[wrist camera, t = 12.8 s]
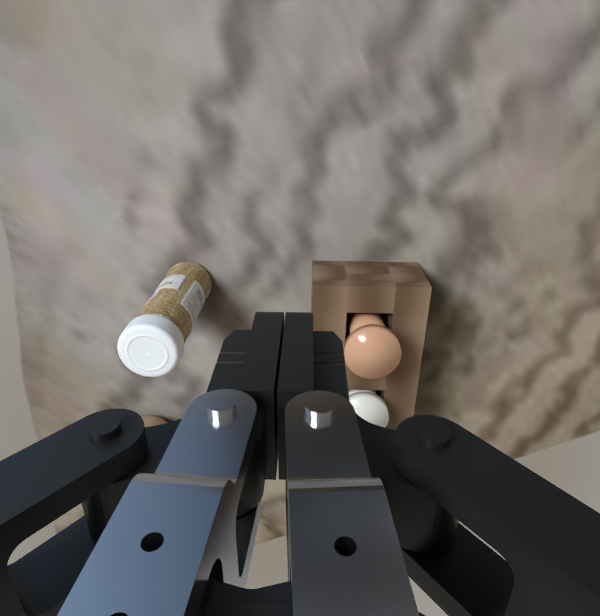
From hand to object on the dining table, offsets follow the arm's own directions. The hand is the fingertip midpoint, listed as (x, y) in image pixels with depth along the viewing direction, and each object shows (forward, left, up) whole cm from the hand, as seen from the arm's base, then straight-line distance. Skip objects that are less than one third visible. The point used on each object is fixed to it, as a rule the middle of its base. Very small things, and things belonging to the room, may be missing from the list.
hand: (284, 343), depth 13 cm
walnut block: (-6, +22, -32) cm, 39 cm away
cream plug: (-6, +22, -31) cm, 39 cm away
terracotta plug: (-6, +14, -29) cm, 33 cm away
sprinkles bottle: (+11, +12, -32) cm, 36 cm away
